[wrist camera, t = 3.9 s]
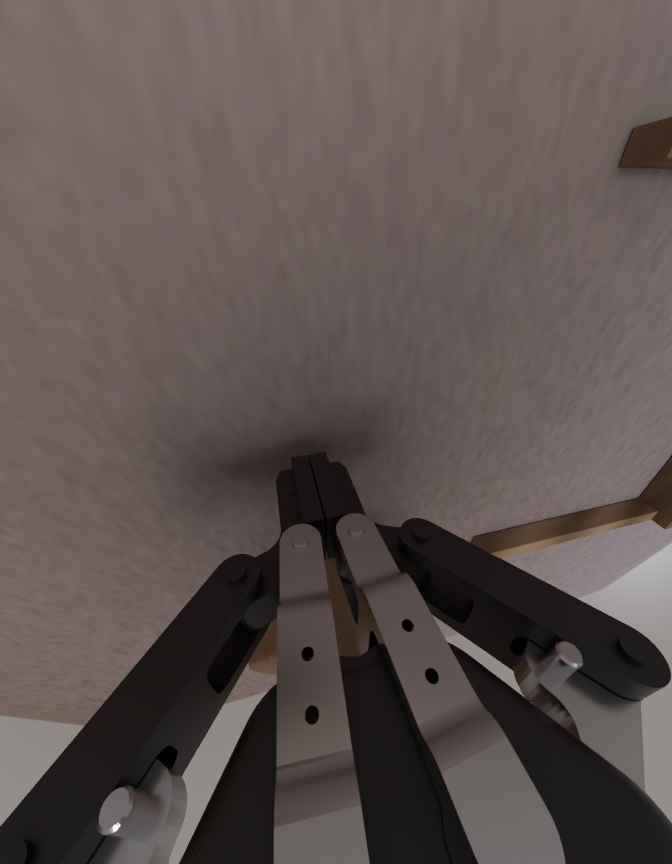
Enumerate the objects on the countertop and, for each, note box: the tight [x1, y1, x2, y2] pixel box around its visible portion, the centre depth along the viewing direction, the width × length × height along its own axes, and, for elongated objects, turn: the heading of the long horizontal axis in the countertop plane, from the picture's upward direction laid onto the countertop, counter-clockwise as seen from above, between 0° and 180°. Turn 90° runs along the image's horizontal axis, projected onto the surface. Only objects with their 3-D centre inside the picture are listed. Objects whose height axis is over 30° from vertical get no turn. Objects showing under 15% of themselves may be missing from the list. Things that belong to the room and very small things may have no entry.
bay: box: [471, 117, 672, 558], centre depth 17 cm, size 17×23×2 cm
